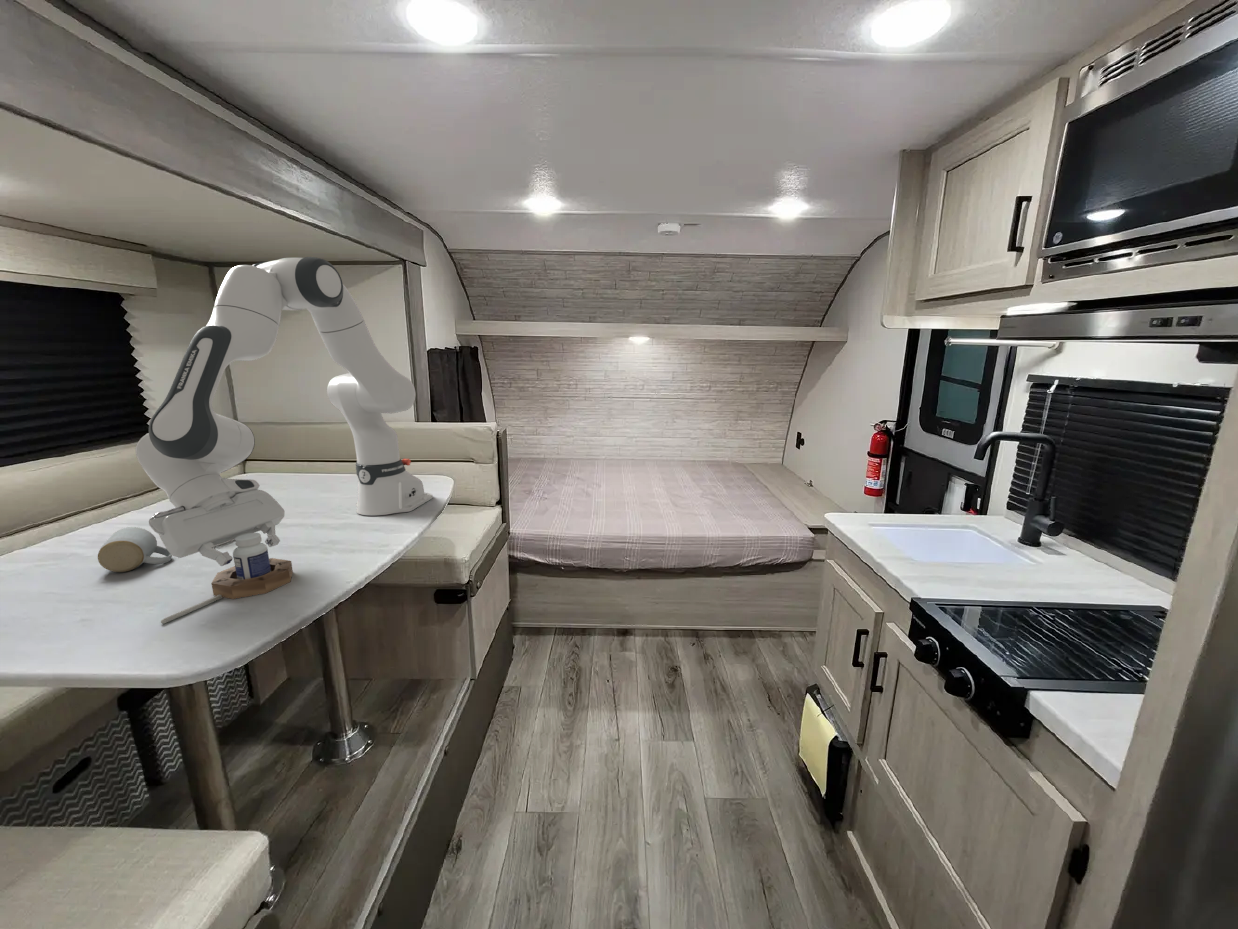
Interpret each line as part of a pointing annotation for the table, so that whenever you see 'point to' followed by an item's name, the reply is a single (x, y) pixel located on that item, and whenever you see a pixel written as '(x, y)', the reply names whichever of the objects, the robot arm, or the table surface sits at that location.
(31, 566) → the table surface
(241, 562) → the pill bottle
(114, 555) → the ceramic mug
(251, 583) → the walnut ring
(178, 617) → the grey rod
